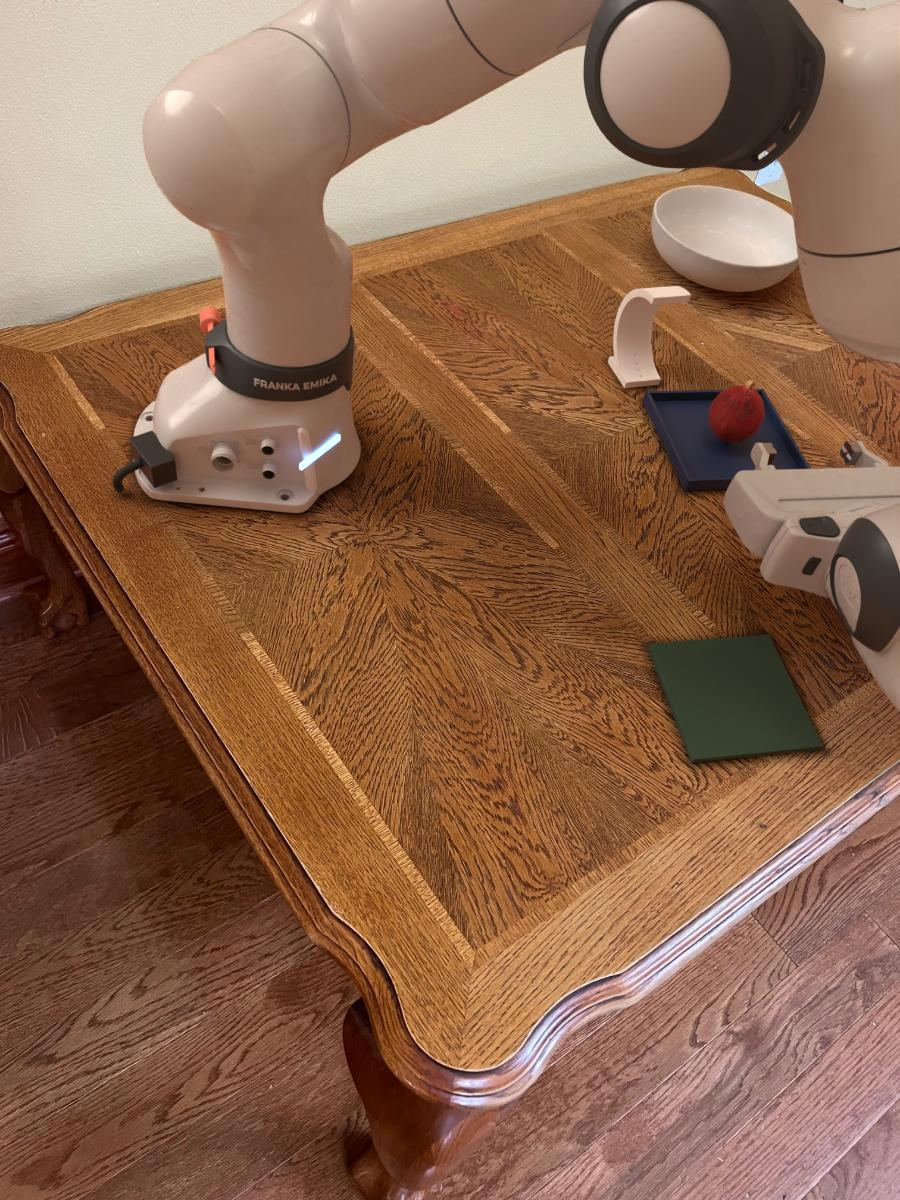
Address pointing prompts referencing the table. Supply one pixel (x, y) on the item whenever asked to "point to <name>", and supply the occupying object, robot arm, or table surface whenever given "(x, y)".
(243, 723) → the table surface
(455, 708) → the table surface
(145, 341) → the table surface
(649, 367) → the headphone stand
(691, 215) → the serving bowl
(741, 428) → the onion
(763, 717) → the dark green mat
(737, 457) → the tray
